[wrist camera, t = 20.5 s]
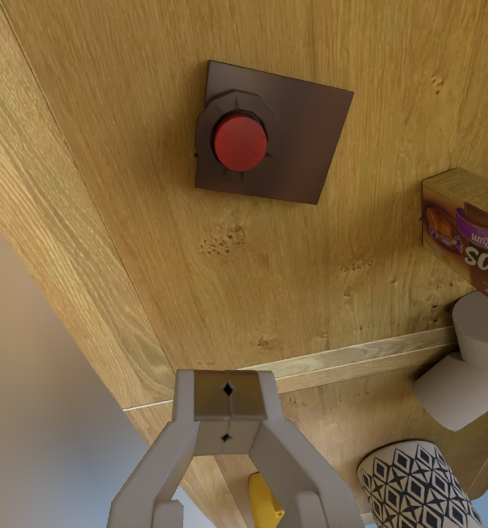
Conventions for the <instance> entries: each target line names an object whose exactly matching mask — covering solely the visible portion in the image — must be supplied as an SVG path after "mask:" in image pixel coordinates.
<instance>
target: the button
mask: <svg viewBox="0 0 488 528" xmlns="http://www.w3.org/2000/svg"><path fill="white" fill-rule="evenodd" d="M214 145H215V151H216V154H217V157H218V158H219V160H220V161H221V163H222V164H223V165H224V166H226V167H227V168H229V169H231V170H234V171H246V170H250V169H252V168H253V167H255V166H256V165H258V164H259V162H260V161H261V160H262V158H263V157H264V155H265V152H266V147H267V140H266V135H265V132H264V130H263V129H262V127H261V126H260V125H259V124H258V122H257V121H256V120H255V119H254V118H252V117H251V116H249V115H246V114H241V113H236V114H232V115H229V116H227V117H226V118H224V119H223V120H222V121H221V122H220V123H219V125H218V126H217V128H216V131H215V134H214Z"/></svg>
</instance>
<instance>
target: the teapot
mask: <svg viewBox="0 0 488 528" xmlns="http://www.w3.org/2000/svg"><path fill="white" fill-rule="evenodd" d="M249 499H250V505H251V511H252V515H253V520H254V524H255V527H256V528H276V526H277V525H278V523H279V522H280V520H281V518H282V517H283V515H284V513H285V512H284V511H283V509H282V508H281V506H280V504H279V503H278V501H277V500H276V498H275V496H274V495H273V493H272V492H271V490H270V489H269V487H268V485H267V484H266V482H265V481H264V479H263V478H262V476H261V474H260V473H256V474H252V475H251V476H250V479H249Z"/></svg>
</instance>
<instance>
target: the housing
mask: <svg viewBox="0 0 488 528" xmlns="http://www.w3.org/2000/svg"><path fill="white" fill-rule="evenodd" d="M353 95H354V92H352V91H347V90H343V89H339V88H334V87H330V86H325V85H321V84H316V83H312V82H307V81H303V80H299V79H294V78H290V77H285V76H281V75H276V74H272V73H267V72H263V71H258V70H254V69H250V68H245V67H241V66H236V65H232V64H227V63H223V62H218V61H214V60H209V61H208V70H207V79H206V88H205V97H204V107H203V110H202V111H201V113H200V114H199V116H198V118H197V124H196V134H195V148H196V150H197V153H198V161H197V171H196V180H195V188H200V189H207V190H214V191H221V192H228V193H236V194H243V195H250V196H257V197H264V198H271V199H278V200H285V201H293V202H300V203H307V204H314V205H317V203H318V200H319V197H320V194H321V191H322V188H323V185H324V182H325V179H326V176H327V173H328V170H329V167H330V164H331V161H332V158H333V155H334V152H335V149H336V146H337V143H338V140H339V137H340V134H341V131H342V128H343V125H344V122H345V119H346V116H347V113H348V110H349V107H350V104H351V101H352V98H353ZM236 113H241V114H246V115H249V116H251V117H252V118H254V119H255V120H256V121H257V122H258V124H259V125H260V126H261V127H262V129H263V130H264V132H265V135H266V140H267V147H266V152H265V155H264V157H263V158H262V160H261V161H260V162H259V164H258V165H256V166H255V167H253V168H252V169H250V170H246V171H234V170H231V169H229V168H227V167H226V166H224V165H223V164H222V163H221V161H220V160H219V158H218V157H217V154H216V151H215V145H214V134H215V131H216V128H217V126H218V125H219V123H220V122H221V121H222V120H223V119H224V118H226V117H227V116H229V115H232V114H236Z"/></svg>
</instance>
